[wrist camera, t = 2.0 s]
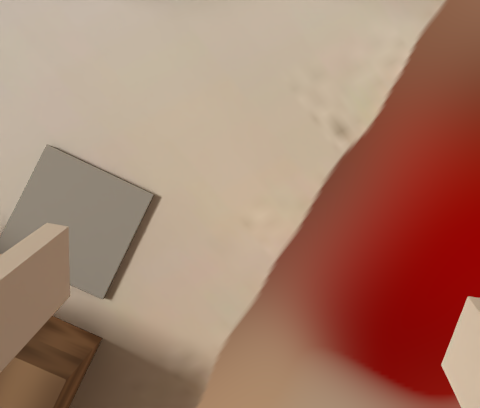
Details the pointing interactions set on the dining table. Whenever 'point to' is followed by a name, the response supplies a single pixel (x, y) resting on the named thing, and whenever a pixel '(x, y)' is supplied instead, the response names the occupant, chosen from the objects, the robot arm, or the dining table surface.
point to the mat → (80, 216)
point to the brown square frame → (48, 367)
